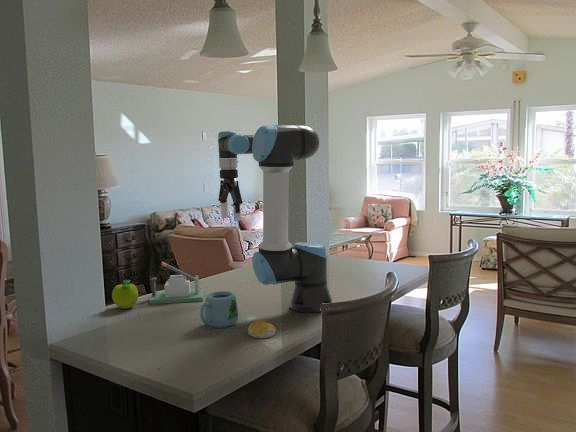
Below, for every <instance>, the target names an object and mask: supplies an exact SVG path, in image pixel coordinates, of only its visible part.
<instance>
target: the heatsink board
mask: <svg viewBox="0 0 576 432" xmlns="http://www.w3.org/2000/svg"><path fill="white" fill-rule="evenodd" d="M194 277H195V278H194V280H195V281H194V288H191V281H190V280H191V279H187V277H185V276H183V275H181V274H172V275H170V276H169V278H168V279H167V280H166V282H165V284H164V286H163V287H164V290H157V285H156V281H157V280H158V277H152V278H151V280H150V282H151V297H150V299H149V304H148V305H152V304H153V305H154V304H155V305H156V304H157V305H158V304H171V303H173V304H175V303H191V302H195V303H196V302H203V300H204V299H205V298H204V296H205V293H206V289H205V288H200V283H199V282H200V281H199V275H195V276H194Z"/></svg>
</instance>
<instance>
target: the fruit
mask: <svg viewBox="0 0 576 432" xmlns="http://www.w3.org/2000/svg"><path fill="white" fill-rule="evenodd" d="M122 282H123V283H120V284H118V285H115V286H114V288H113V289H112V293H111V298H112V301H113V303H114V304H115V305H116V306H117V307H118V308H119V309H123V310H126V309H127V310H128V309H130V308H132V307H134V306H135V304H137V302H138V299H139V292H138V291H139V290H138V288H137V286H136V285H135V284H133V283H131V279H124V280H123V281H122Z"/></svg>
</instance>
